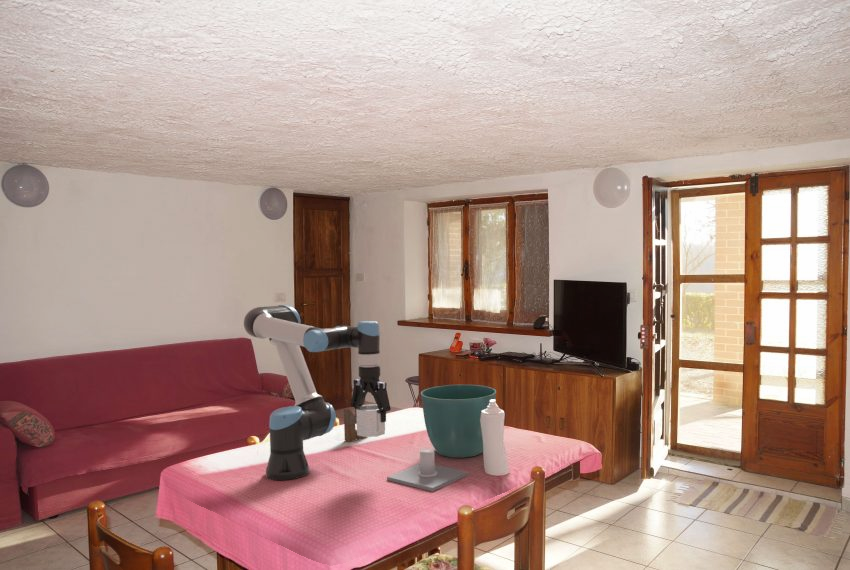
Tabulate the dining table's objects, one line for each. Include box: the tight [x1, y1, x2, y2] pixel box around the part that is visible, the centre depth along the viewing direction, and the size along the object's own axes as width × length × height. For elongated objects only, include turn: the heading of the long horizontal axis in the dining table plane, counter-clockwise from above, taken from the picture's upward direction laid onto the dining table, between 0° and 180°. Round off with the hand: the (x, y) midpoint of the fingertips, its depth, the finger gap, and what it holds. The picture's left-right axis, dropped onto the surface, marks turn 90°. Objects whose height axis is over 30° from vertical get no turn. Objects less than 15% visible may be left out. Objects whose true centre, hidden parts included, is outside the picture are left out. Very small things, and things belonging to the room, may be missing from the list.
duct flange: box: [386, 448, 469, 493], centre depth 213 cm, size 20×20×9 cm
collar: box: [356, 403, 386, 438], centre depth 214 cm, size 10×10×9 cm
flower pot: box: [420, 384, 497, 459], centre depth 243 cm, size 30×30×24 cm
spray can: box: [480, 399, 510, 477], centre depth 219 cm, size 12×11×25 cm
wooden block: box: [343, 398, 366, 443], centre depth 267 cm, size 4×11×18 cm, turn 139°
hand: (370, 429), depth 214 cm, fingers closed on collar, 10 cm apart
